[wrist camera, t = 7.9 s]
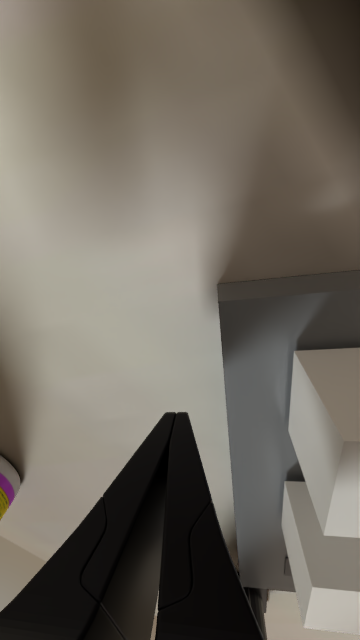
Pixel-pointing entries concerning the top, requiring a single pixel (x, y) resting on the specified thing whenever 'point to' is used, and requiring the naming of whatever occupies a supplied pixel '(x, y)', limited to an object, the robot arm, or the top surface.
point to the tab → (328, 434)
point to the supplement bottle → (7, 485)
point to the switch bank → (273, 398)
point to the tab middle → (320, 566)
